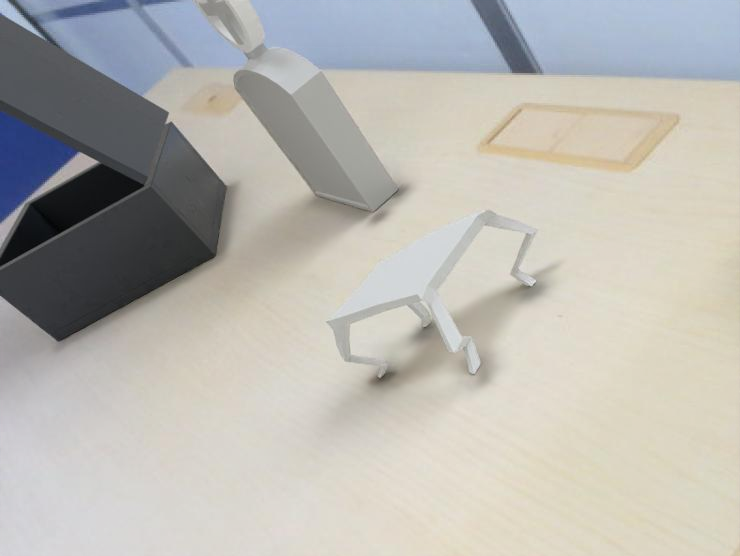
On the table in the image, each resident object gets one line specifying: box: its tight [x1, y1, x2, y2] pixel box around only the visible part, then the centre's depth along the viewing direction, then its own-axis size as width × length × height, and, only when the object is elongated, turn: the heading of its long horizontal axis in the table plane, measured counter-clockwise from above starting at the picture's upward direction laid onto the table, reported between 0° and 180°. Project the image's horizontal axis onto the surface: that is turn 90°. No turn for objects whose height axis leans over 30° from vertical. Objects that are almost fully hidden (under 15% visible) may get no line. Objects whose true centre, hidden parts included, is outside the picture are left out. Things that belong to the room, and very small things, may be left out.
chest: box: [0, 121, 227, 342], centre depth 64 cm, size 16×14×7 cm
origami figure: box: [325, 208, 539, 379], centre depth 40 cm, size 12×8×5 cm
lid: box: [0, 13, 170, 185], centre depth 55 cm, size 16×14×5 cm
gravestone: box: [192, 0, 399, 213], centre depth 53 cm, size 3×9×18 cm, turn 48°
